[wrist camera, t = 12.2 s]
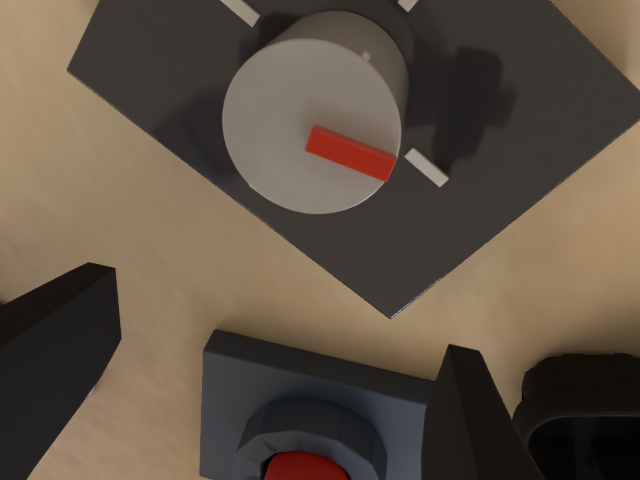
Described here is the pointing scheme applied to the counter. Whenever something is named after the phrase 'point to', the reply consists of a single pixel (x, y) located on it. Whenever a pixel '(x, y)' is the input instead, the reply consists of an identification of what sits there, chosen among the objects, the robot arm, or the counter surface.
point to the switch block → (306, 412)
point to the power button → (304, 467)
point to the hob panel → (419, 126)
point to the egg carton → (582, 417)
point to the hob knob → (318, 113)
